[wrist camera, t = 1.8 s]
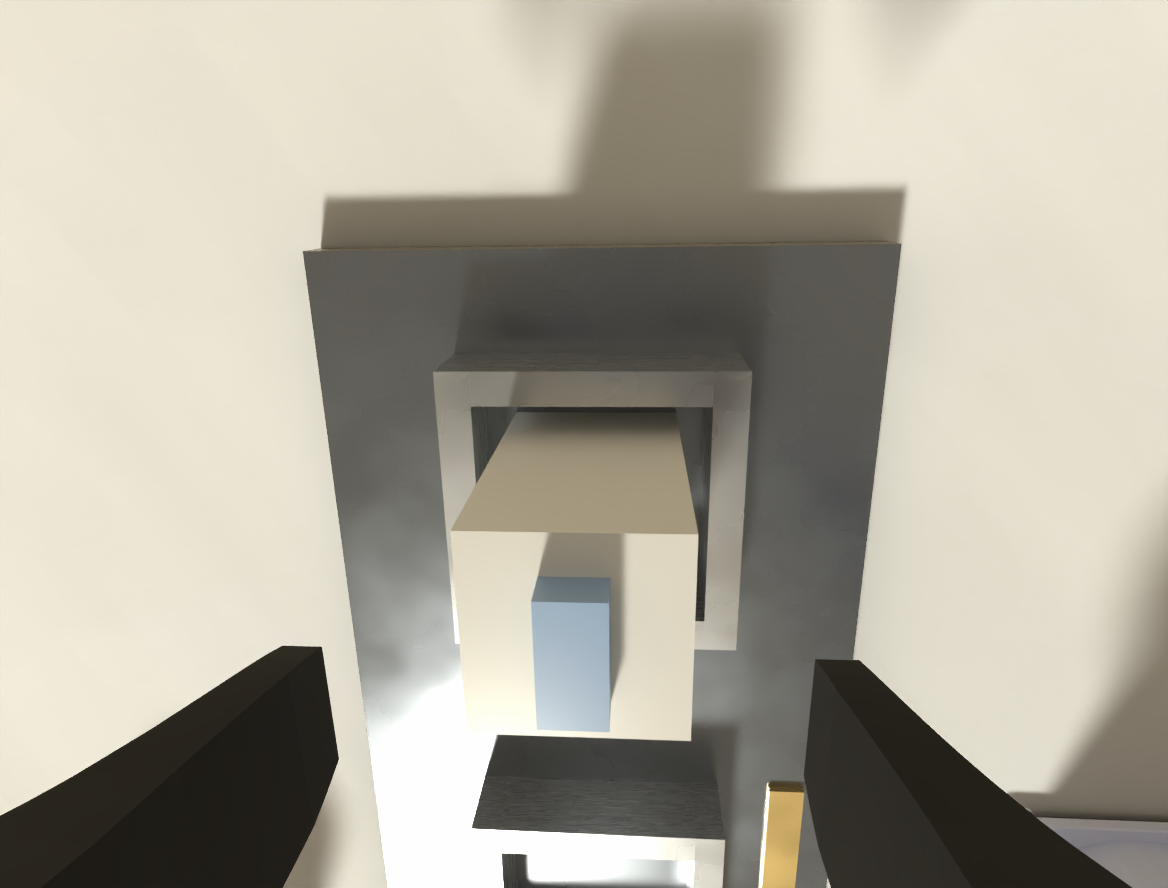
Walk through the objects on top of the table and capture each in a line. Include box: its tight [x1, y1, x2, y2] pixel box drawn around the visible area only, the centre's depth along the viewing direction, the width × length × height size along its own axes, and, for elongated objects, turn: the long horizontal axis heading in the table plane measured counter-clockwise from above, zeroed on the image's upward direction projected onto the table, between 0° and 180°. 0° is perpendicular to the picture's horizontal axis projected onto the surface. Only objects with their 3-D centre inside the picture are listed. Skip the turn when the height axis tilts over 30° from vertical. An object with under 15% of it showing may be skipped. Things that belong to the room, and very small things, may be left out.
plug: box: [450, 412, 698, 741], centre depth 15 cm, size 4×4×8 cm
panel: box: [303, 241, 901, 888], centre depth 21 cm, size 14×26×3 cm, turn 1°
